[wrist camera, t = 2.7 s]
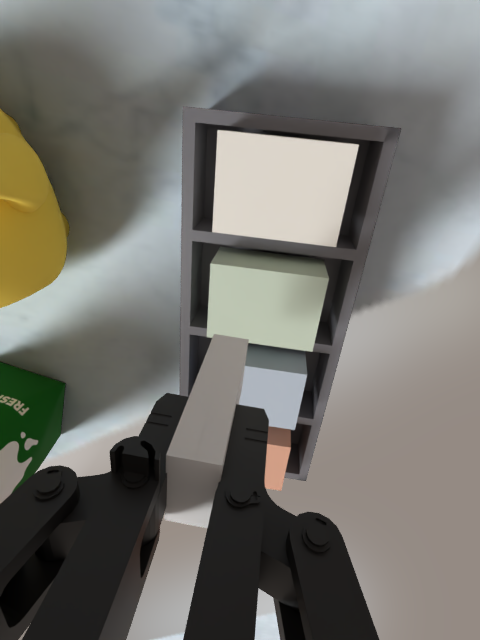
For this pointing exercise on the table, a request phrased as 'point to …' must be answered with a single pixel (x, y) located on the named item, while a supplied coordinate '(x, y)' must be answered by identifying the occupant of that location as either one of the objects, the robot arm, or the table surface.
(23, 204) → the teapot
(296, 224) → the key
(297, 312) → the key
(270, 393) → the key
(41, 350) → the table surface
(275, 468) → the key
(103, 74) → the table surface
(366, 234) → the keypad base
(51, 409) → the milk carton
